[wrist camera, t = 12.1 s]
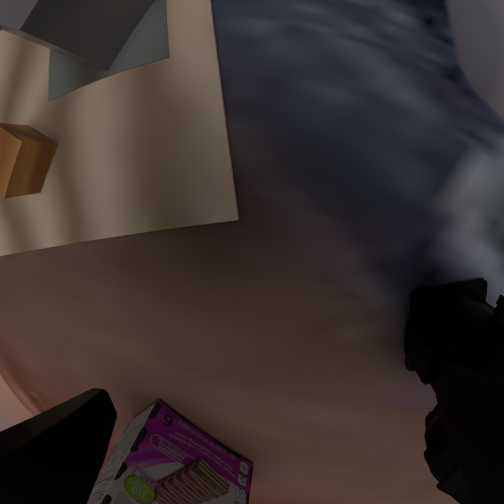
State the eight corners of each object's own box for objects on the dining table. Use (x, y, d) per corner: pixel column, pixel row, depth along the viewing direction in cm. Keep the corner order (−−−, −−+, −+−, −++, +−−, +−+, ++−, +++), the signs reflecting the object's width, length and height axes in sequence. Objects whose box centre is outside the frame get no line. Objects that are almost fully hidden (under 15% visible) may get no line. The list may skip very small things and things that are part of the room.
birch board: (204, -59, 14) (202, -63, 14) (239, 219, 19) (238, 220, 19) (-5, 38, 17) (-9, 37, 16) (2, 254, 22) (-3, 256, 21)
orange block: (58, 143, 19) (21, 141, 15) (40, 193, 20) (4, 198, 16) (29, 125, 18) (-7, 122, 14) (12, 171, 19) (-23, 174, 15)
